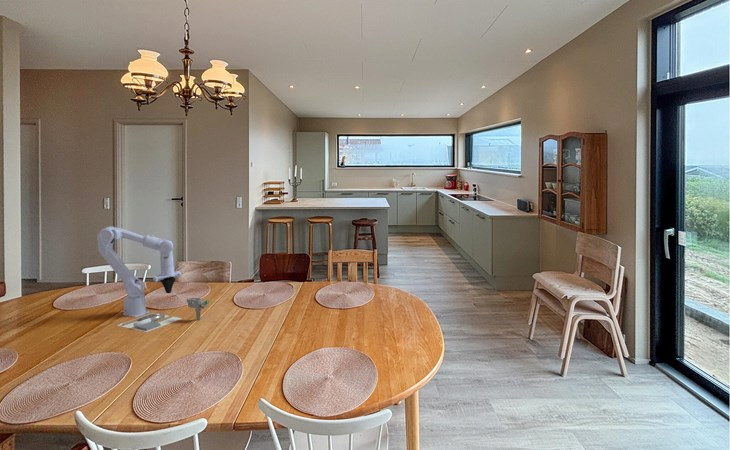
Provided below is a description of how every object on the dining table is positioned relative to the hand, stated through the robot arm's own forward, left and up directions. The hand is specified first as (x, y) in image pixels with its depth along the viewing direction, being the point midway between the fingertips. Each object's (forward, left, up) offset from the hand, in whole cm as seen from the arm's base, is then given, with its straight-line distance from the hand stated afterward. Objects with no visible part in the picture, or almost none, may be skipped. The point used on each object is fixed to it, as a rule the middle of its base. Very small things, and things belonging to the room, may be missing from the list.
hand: (168, 292), depth 210 cm
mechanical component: (+23, -3, -10) cm, 25 cm away
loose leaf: (+4, -13, -9) cm, 16 cm away
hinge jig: (+5, -15, -9) cm, 18 cm away
